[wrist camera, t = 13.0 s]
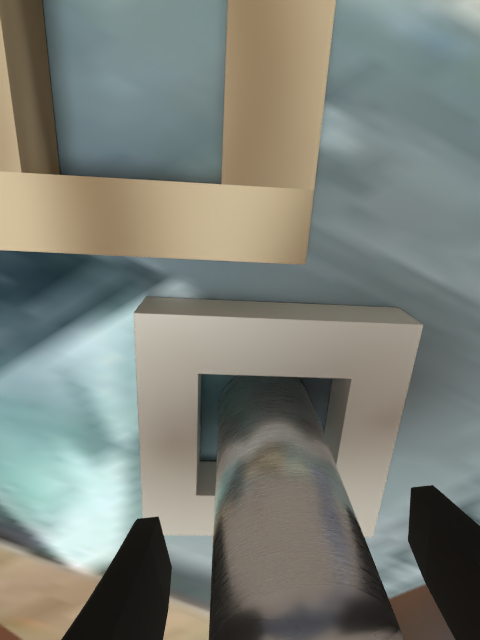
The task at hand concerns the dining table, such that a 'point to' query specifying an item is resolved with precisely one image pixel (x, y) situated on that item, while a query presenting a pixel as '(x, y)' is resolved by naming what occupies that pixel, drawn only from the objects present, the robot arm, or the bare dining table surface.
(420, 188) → the dining table surface
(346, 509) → the grey cylinder
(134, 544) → the robot arm
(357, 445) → the white square frame
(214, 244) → the socket block
